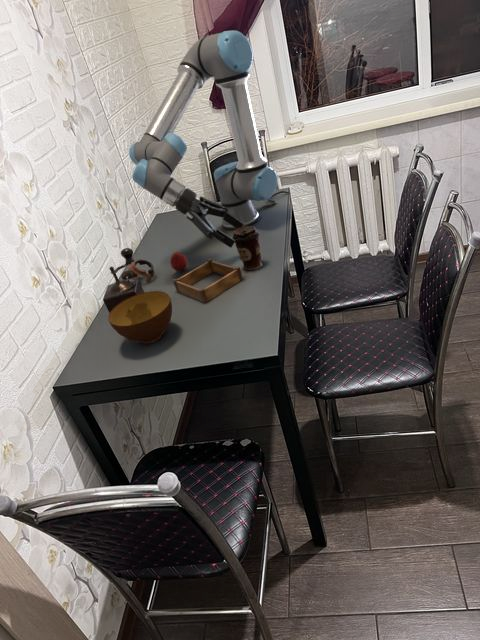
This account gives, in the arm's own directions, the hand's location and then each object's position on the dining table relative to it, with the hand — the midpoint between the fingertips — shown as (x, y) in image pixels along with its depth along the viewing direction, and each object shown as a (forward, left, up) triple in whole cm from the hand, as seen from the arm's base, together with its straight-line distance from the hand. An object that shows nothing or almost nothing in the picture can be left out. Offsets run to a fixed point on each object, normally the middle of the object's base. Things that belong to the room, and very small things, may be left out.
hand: (237, 235), depth 152 cm
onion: (+13, -21, -12) cm, 27 cm away
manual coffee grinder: (+37, -15, -12) cm, 41 cm away
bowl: (+43, +6, -12) cm, 45 cm away
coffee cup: (-1, +2, -12) cm, 12 cm away
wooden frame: (+15, -2, -11) cm, 19 cm away
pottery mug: (+25, -31, -12) cm, 41 cm away
